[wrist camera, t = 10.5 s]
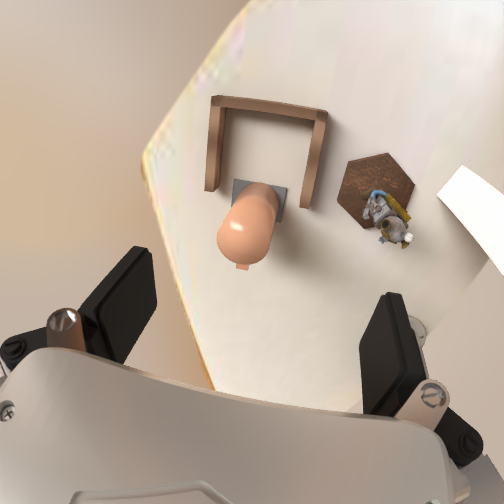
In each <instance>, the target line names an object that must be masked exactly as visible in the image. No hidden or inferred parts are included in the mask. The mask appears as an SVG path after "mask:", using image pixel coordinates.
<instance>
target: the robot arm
mask: <svg viewBox="0 0 504 504" xmlns="http://www.w3.org/2000/svg"><path fill="white" fill-rule="evenodd" d="M156 307H157V297H156V289H155V280H154V271H153V260H152V254H151V253H150V252H149V251H148V249H147V248H143V247H139V246H133V247H132V248H131V249H130V250H129V251H128V253H127V254H126V255H125V256H124V257H123V258H122V259H121V260H120V261H119V262H118V263H117V265H116V266H115V267H114V268H113V269H112V270H111V271H110V272H109V274H108V275H107V276H106V277H105V278H104V279H103V280H102V282H101V283H100V284H99V285H98V286H97V287H96V288H95V290H94V291H93V292H92V293H91V294H90V296H89V297H88V298H87V299H86V300H85V301H84V303H83V304H82V305H81V307H80V308H79V309H78V311H76V310H74V309H72V308H62V309H59V310H57V311H55V312H53V313H52V314H51V315H50V316H49V318H48V320H47V324H46V327H43V328H39V329H36V330H33V331H29V332H26V333H22V334H19V335H15V336H13V337H10V338H8V339H7V340H5V341H4V343H3V344H2V346H1V348H0V504H503V503H504V481H503V479H502V477H501V476H500V474H499V472H498V471H497V469H496V468H495V466H494V464H493V463H492V461H491V460H490V458H489V457H488V455H487V454H486V455H485V456H484V455H483V454H482V451H483V440H482V438H481V436H480V434H479V433H478V432H477V431H476V430H475V429H474V428H473V427H471V426H470V425H469V424H468V423H467V422H465V421H464V420H463V419H462V418H461V417H460V416H458V415H457V414H456V413H455V412H454V411H452V410H451V409H450V408H449V407H448V405H449V402H450V397H449V393H448V391H447V389H446V388H445V386H443V385H442V384H441V383H440V382H438V381H436V380H432V379H429V375H428V371H427V367H426V363H425V359H424V355H423V352H422V347H423V345H424V343H425V340H426V332H425V329H424V326H423V324H422V323H421V322H420V321H418V320H417V319H415V318H412V317H408V314H407V311H406V308H405V304H404V301H403V298H402V295H401V294H398V293H392V292H387V293H386V294H385V295H382V296H381V297H380V299H379V302H378V304H377V306H376V309H375V311H374V313H373V315H372V317H371V320H370V322H369V324H368V326H367V328H366V330H365V332H364V334H363V337H362V339H361V341H360V345H359V354H360V365H361V379H362V395H363V414H357V413H347V412H338V411H329V410H320V409H312V408H304V407H297V406H291V405H284V404H278V403H272V402H267V401H261V400H256V399H251V398H246V397H241V396H236V395H231V394H227V393H222V392H218V391H214V390H209V389H205V388H201V387H197V386H193V385H190V384H186V383H182V382H178V381H175V380H171V379H168V378H164V377H161V376H158V375H154V374H151V373H148V372H144V371H141V370H138V369H135V368H131V367H129V366H126V365H123V364H124V362H125V360H126V358H127V356H128V355H129V353H130V352H131V350H132V348H133V346H134V344H135V343H136V341H137V340H138V338H139V336H140V335H141V333H142V331H143V330H144V328H145V326H146V324H147V323H148V321H149V320H150V318H151V316H152V314H153V313H154V311H155V310H156Z"/></svg>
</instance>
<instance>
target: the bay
mask: <svg viewBox="0 0 504 504" xmlns="http://www.w3.org/2000/svg"><path fill="white" fill-rule="evenodd" d="M226 107H227V108H237V109H245V110H253V111H261V112H268V113H275V114H281V115H287V116H293V117H299V118H305V119H310V120H315V121H314V127H313V132H312V138H311V144H310V149H309V155H308V160H307V166H306V171H305V176H304V182H303V187H302V192H301V197H300V206H299V207H301V208H306V209H309V206H310V202H311V197H312V192H313V187H314V182H315V178H316V173H317V168H318V163H319V157H320V152H321V147H322V142H323V136H324V131H325V126H326V120H327V114H328V112H327V111H325V110H320V109H315V108H310V107H305V106H299V105H293V104H287V103H281V102H274V101H267V100H259V99H251V98H242V97H233V96H222V95H216V96H212V97H211V108H210V119H209V131H208V144H207V158H206V173H205V190H204V191H209V192H214V191H215V190H216V188H217V187H218V186H219V182H220V169H221V158H222V146H223V135H224V125H225V115H226Z"/></svg>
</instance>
